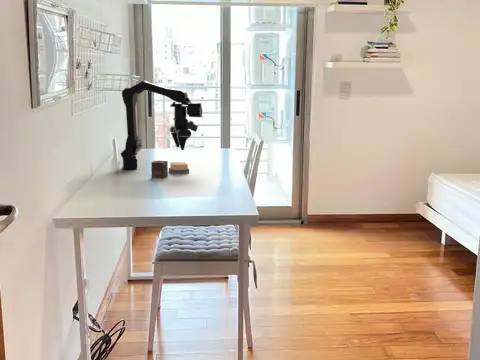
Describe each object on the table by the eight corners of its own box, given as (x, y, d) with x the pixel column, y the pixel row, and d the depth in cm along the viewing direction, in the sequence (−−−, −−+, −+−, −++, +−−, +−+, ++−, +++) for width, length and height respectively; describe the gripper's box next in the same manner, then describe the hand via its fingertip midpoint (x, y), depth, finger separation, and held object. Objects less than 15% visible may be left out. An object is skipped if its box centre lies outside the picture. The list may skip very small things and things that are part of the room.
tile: (173, 170, 258) (173, 164, 257) (170, 167, 264) (170, 162, 264) (187, 169, 260) (187, 164, 259) (184, 167, 266) (184, 162, 266)
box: (163, 178, 247) (163, 163, 246) (151, 178, 248) (151, 162, 247) (168, 176, 253) (168, 160, 252) (155, 175, 254) (155, 160, 253)
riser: (170, 173, 259) (170, 169, 258) (168, 171, 263) (168, 167, 263) (189, 173, 262) (189, 169, 261) (186, 171, 266) (186, 167, 266)
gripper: (201, 118, 254) (201, 151, 257) (191, 114, 271) (191, 145, 274) (178, 118, 250) (178, 151, 253) (169, 114, 267) (169, 146, 270)
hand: (180, 148), depth 263 cm, fingers open, 9 cm apart
